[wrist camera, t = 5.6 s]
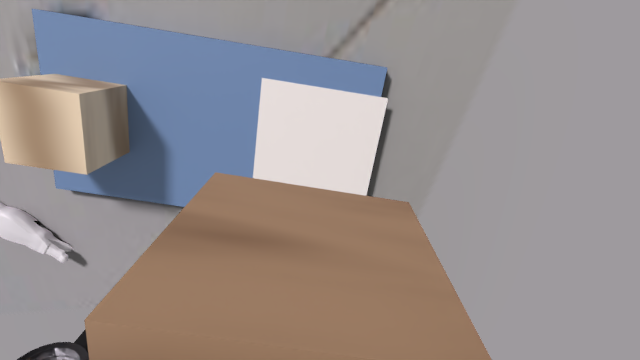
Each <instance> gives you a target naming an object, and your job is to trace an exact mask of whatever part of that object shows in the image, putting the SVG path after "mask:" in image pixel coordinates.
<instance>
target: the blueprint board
mask: <svg viewBox="0 0 640 360" xmlns="http://www.w3.org/2000/svg"><path fill="white" fill-rule="evenodd" d="M32 14H33V22H34V29H35V37H36V44H37V51H38V59H39V66H40V74H41V75H46V74H60V75H66V76H72V77H78V78H85V79H91V80H97V81H104V82H110V83H116V84H122V85H127V106H128V127H129V148H130V152H129V153H127V154H125V155H123V156H121V157H119V158H117V159H116V160H114V161H112V162H110V163H108V164H106V165H104V166H102V167H100V168H99V169H97V170H95V171H93V172H91V173H89V174H87V175H86V174H79V173H72V172H66V171H59V170H54V177H55V185H56V188H58V189H65V190H72V191H79V192H86V193H93V194H100V195H106V196H113V197H120V198H127V199H134V200H141V201H148V202H155V203H161V204H168V205H175V206H182V207H185V206H186V205H187V204H188V203H189V202H190V200H191V199H192V198H193V197H194V196H195V195H196V194H197V193H198V191H199V190H200V189H201V188H202V187H203V186H204V185H205V184H206V182H207V181H208V180H209V179H210V178H211V177H212V176H213V175H214V173H215V172H217V173H223V174H230V175H236V176H242V177H249V178H255V179H262V180H268V181H275V182H281V183H287V184H294V185H300V186H307V187H313V188H320V189H326V190H332V191H339V192H345V193H352V194H358V195H364V196H366V195H367V191H368V186H369V182H370V177H371V173H372V168H373V164H374V159H375V155H376V150H377V146H378V142H379V137H380V133H381V128H382V124H383V119H384V115H385V110H386V106H387V101H388V98H383V97H381V95H382V90H383V86H384V81H385V77H386V72H387V68H386V67H381V66H375V65H369V64H363V63H357V62H351V61H345V60H339V59H333V58H327V57H321V56H315V55H309V54H303V53H297V52H291V51H285V50H279V49H273V48H267V47H261V46H255V45H249V44H243V43H237V42H231V41H225V40H219V39H213V38H207V37H200V36H194V35H188V34H182V33H176V32H170V31H164V30H158V29H152V28H146V27H140V26H134V25H128V24H122V23H116V22H110V21H104V20H98V19H92V18H86V17H80V16H74V15H68V14H62V13H56V12H50V11H44V10H37V9H32Z"/></svg>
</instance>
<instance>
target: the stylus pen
mask: <svg viewBox="0 0 640 360" xmlns="http://www.w3.org/2000/svg"><path fill="white" fill-rule="evenodd" d="M34 221H38V220H36V219H35V218H34V217H33V216H31V215H30V214H28V213H27V212H25V211H23V210H21V209H18V208H14V207H9V206H6V205H4V204H3V203H1V202H0V237H2V238H4V239H6V240H8V241H12V242H15V243H19V244H22V245H25V246H27V247H29V248H30V249H32V250H35V251H38V252H39V253H42V254H47V255H50V256H52V257H54V258H55V259H57V260H58V261H60V262H61V263H65V262H66V261H68V255H67V254H66V253H65V252H70V251H71V250H72V249H73V247H71V245H69V244H68V243H65V242H62V241H60V240H59V239H57V238H56V237H54V236H53V233H52V232H51V231H49V230H47V229H46V228H45V227H43V226H42V225H40V226H39V225H38V224H36V223H35V222H34ZM72 251H73V250H72Z"/></svg>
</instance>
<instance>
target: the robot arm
mask: <svg viewBox="0 0 640 360" xmlns="http://www.w3.org/2000/svg"><path fill="white" fill-rule="evenodd" d="M17 360H89V354H88V345H87V337H86V329H85V330H84V332H83V333H82V334H81V335H80V336H79V337H78V339H77V340H76V341H75V342H74V343H71V342H57V343H52V344H48V345H44V346H41V347H39V348H36V349H34V350H32V351H30V352H28V353H26V354H25V355H23V356H21V357H20V358H18V359H17Z"/></svg>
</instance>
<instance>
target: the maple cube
mask: <svg viewBox="0 0 640 360" xmlns="http://www.w3.org/2000/svg"><path fill="white" fill-rule="evenodd" d="M0 138H1V144H2V149H3V154H4V160H5V163H11V164H18V165H25V166H32V167H38V168H45V169H52V170H59V171H66V172H72V173H79V174H86V175H87V174H89V173H91V172H93V171H95V170H97V169H99V168H100V167H102V166H104V165H106V164H108V163H110V162H112V161H114V160H116V159H117V158H119V157H121V156H123V155H125V154H127V153H129V152H130V148H129V127H128V106H127V85H122V84H116V83H110V82H104V81H97V80H91V79H85V78H78V77H72V76H66V75H60V74H46V75H36V76H25V77H15V78H4V79H0Z"/></svg>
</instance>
